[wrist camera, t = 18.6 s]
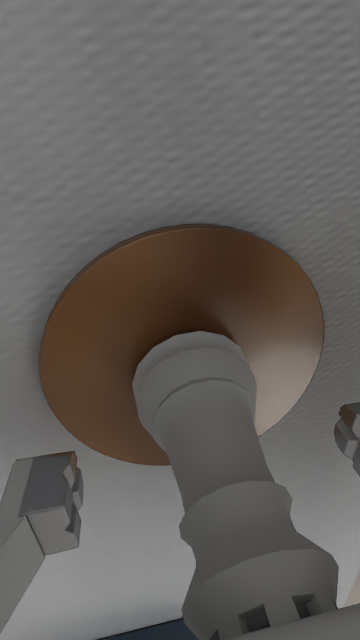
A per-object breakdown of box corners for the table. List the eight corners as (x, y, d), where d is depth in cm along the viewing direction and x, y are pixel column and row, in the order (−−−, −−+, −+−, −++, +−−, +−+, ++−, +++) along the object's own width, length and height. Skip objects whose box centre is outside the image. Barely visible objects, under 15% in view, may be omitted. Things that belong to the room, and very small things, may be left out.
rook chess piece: (232, 413, 14) (348, 678, 7) (128, 419, 13) (147, 730, 6) (255, 324, 12) (451, 578, 5) (134, 323, 11) (170, 634, 4)
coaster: (344, 211, 11) (354, 215, 10) (296, 435, 16) (301, 443, 16) (0, 237, 9) (-6, 242, 9) (73, 475, 15) (72, 485, 14)
